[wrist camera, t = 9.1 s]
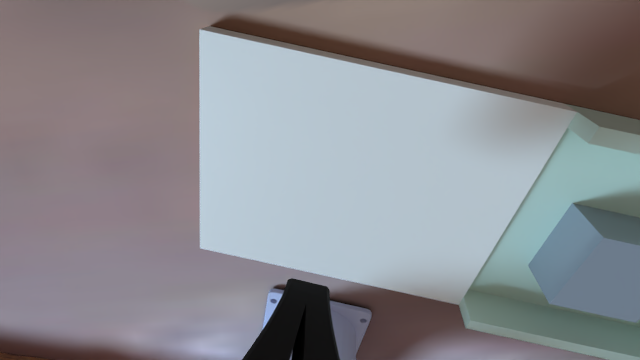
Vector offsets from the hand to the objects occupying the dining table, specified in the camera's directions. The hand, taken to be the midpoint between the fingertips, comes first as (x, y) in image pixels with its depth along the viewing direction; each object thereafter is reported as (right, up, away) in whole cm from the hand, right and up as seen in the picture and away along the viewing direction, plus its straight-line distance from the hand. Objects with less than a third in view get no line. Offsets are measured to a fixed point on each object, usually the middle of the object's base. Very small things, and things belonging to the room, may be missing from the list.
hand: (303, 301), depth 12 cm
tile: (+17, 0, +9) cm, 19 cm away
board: (+3, +4, +9) cm, 10 cm away
